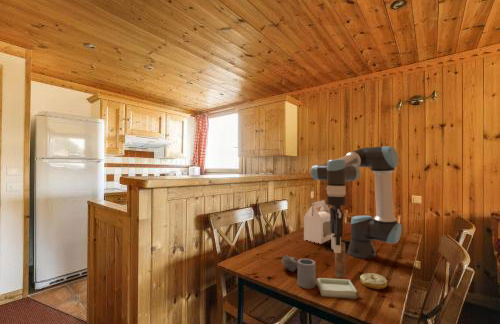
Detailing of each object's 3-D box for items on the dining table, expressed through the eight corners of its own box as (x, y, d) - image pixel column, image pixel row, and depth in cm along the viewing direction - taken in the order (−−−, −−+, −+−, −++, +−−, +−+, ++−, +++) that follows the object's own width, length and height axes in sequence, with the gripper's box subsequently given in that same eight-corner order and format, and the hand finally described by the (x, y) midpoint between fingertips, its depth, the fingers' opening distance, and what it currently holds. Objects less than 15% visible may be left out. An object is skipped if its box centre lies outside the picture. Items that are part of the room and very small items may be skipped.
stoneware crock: (313, 281, 112) (313, 259, 112) (316, 289, 104) (316, 265, 105) (296, 280, 113) (297, 258, 113) (298, 287, 105) (298, 264, 105)
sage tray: (349, 285, 108) (349, 279, 108) (357, 298, 97) (357, 292, 97) (317, 283, 109) (317, 277, 110) (321, 296, 99) (321, 289, 99)
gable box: (318, 234, 193) (318, 198, 193) (334, 237, 184) (334, 200, 184) (303, 240, 176) (303, 201, 177) (320, 244, 167) (320, 203, 168)
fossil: (305, 272, 122) (305, 255, 122) (293, 277, 116) (293, 260, 116) (288, 265, 130) (288, 250, 130) (276, 269, 124) (276, 253, 125)
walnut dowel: (343, 275, 105) (347, 242, 105) (346, 279, 101) (350, 244, 101) (330, 273, 105) (334, 240, 106) (332, 277, 101) (336, 242, 102)
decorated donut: (358, 278, 116) (358, 270, 116) (384, 281, 112) (384, 273, 113) (361, 288, 106) (361, 279, 106) (389, 292, 103) (389, 283, 103)
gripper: (323, 193, 113) (323, 244, 112) (331, 197, 96) (331, 257, 96) (340, 193, 112) (340, 245, 112) (351, 198, 95) (351, 258, 95)
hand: (336, 250), depth 104 cm, fingers closed on walnut dowel, 4 cm apart
